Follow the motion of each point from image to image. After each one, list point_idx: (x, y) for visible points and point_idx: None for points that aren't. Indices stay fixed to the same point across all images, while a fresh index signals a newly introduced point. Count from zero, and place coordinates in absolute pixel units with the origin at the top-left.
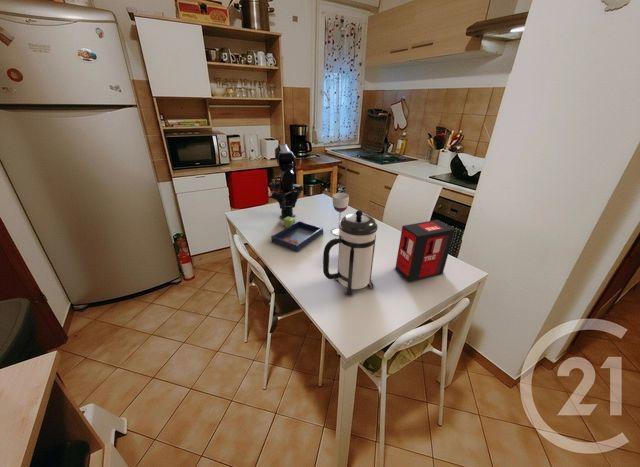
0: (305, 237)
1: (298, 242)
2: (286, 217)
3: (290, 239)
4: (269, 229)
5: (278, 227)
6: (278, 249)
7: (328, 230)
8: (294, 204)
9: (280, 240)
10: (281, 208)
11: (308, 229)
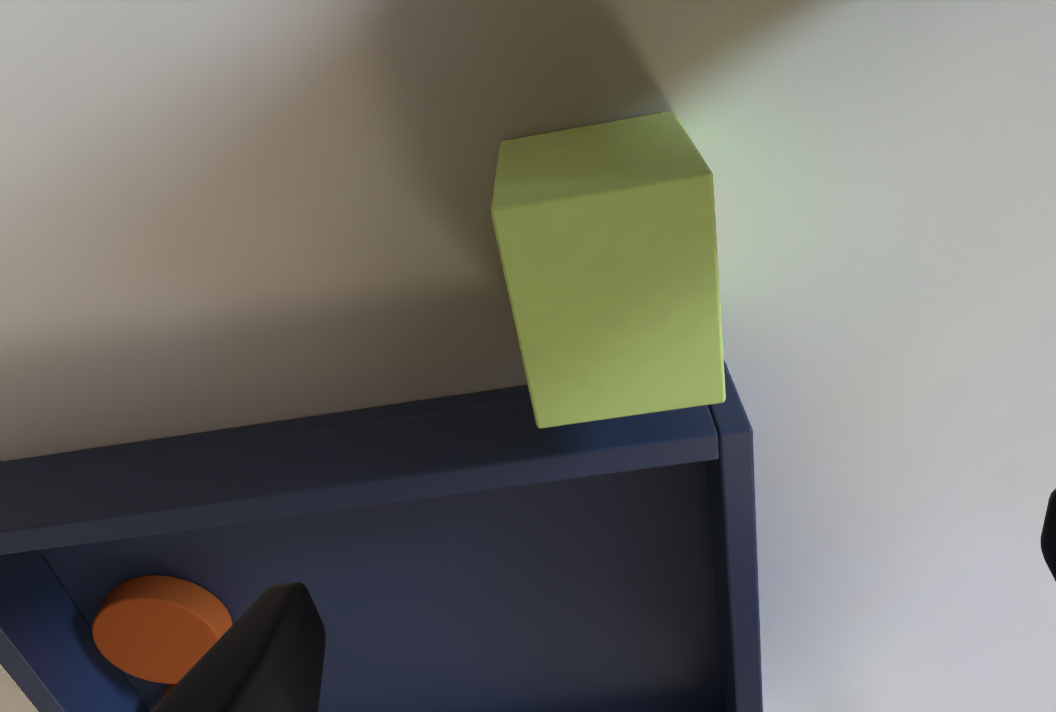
0: (462, 690)
1: None
2: (613, 207)
3: None
4: (135, 21)
5: (368, 95)
6: None
7: (872, 707)
8: (1047, 556)
9: (24, 675)
10: (229, 639)
11: (686, 583)
